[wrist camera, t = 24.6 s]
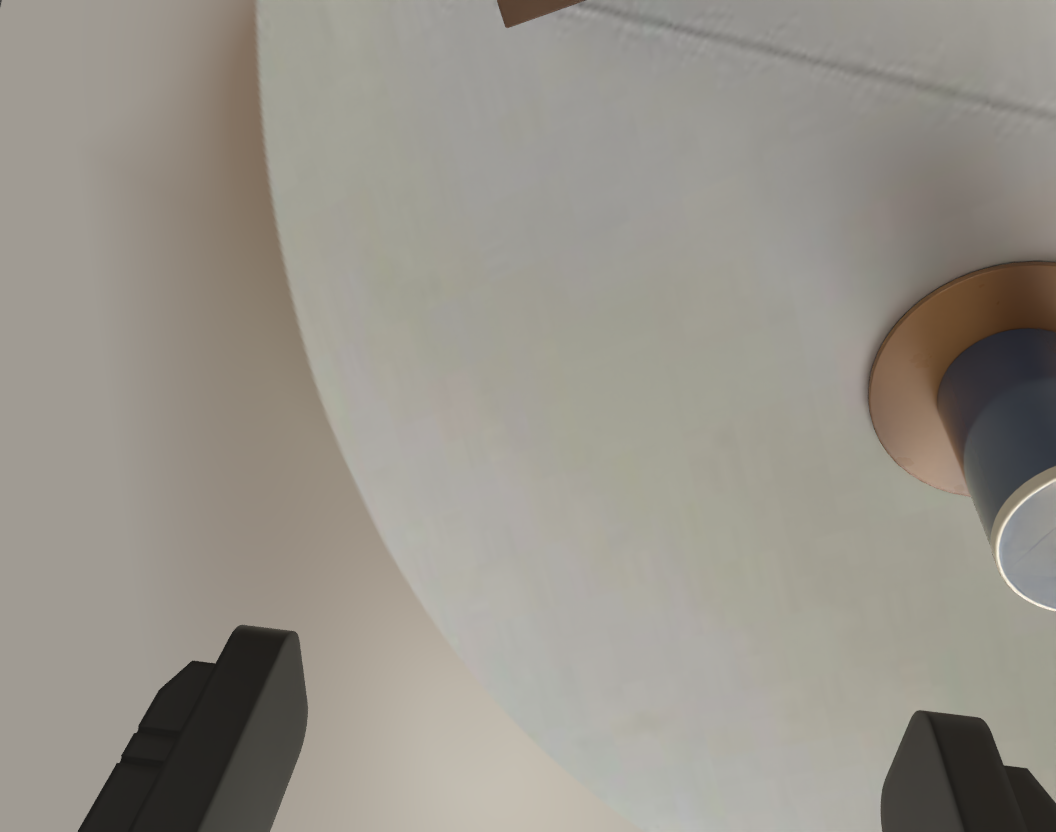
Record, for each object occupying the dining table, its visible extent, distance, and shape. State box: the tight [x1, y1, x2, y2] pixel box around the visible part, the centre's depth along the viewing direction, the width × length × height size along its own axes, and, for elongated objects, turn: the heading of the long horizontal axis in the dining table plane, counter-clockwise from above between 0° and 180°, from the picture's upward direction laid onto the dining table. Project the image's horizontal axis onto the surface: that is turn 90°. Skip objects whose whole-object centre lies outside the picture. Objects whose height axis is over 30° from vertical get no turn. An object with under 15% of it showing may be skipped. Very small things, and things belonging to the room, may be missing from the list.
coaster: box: [868, 261, 1056, 497], centre depth 38 cm, size 11×11×1 cm
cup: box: [937, 328, 1056, 612], centre depth 33 cm, size 6×6×10 cm
